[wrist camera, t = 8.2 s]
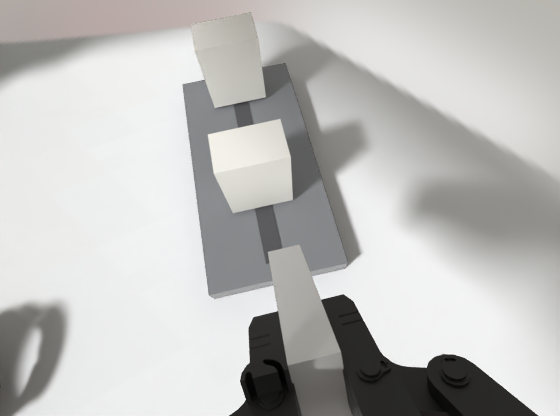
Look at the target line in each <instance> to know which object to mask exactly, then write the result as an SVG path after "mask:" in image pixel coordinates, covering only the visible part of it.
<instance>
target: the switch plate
mask: <svg viewBox="0 0 560 416" xmlns="http://www.w3.org/2000/svg"><path fill="white" fill-rule="evenodd" d="M262 71H263V79H264V86H265V93H266V97H265V98H260V99H255V100H251V101H246V102H241V103H237V104H232V105H227V106H222V107H218V108H215V107H214V104H213V101H212V99H211V96H210V93H209V90H208V87H207V84H206V82H205V80H202V81H197V82H192V83H187V84H183V92H184V100H185V108H186V116H187V124H188V132H189V140H190V148H191V156H192V164H193V172H194V180H195V188H196V196H197V204H198V212H199V220H200V228H201V236H202V244H203V252H204V260H205V268H206V276H207V284H208V292H209V296H211V297H212V298H214V299H216V298H220V297H225V296H229V295H233V294H238V293H242V292H246V291H250V290H255V289H259V288H263V287H268V286H272V285H273V279H272V273H271V268H270V262H269V256H268V252H270V251H274V250H278V249H282V248H287V247H291V246H295V245H300V247H301V250H302V253H303V255H304V258H305V260H306V263H307V265H308V268H309V271H310V273H311V276H315V275H319V274H323V273H328V272H332V271H336V270H341V269H345V268H346V266H347V264H348V262H347V258H346V255H345V252H344V249H343V246H342V242H341V239H340V236H339V233H338V230H337V226H336V223H335V220H334V217H333V214H332V210H331V207H330V204H329V201H328V198H327V194H326V191H325V188H324V185H323V182H322V178H321V175H320V172H319V169H318V166H317V162H316V159H315V156H314V153H313V150H312V146H311V143H310V140H309V137H308V134H307V130H306V127H305V124H304V121H303V118H302V114H301V111H300V108H299V105H298V102H297V98H296V95H295V92H294V89H293V86H292V82H291V79H290V76H289V73H288V70H287V66H286V63H283V64H278V65H274V66H269V67H264V68H262ZM277 119H280V120H281V123H282V127H283V131H284V134H285V138H286V141H287V145H288V149H289V152H290V156H291V171H292V191H293V200H290V201H286V202H281V203H277V204H272V205H268V206H263V207H259V208H254V209H250V210H245V211H241V212H237V213H233V212H232V210H231V208H230V206H229V204H228V202H227V200H226V198H225V196H224V194H223V192H222V190H221V188H220V185H219V183H218V181H217V179H216V177H215V175H214V172H213V166H212V159H211V153H210V146H209V140H208V134H212V133H217V132H221V131H226V130H231V129H235V128H240V127H245V126H249V125H254V124H258V123H263V122H268V121H272V120H277Z"/></svg>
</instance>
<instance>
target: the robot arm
mask: <svg viewBox="0 0 560 416" xmlns="http://www.w3.org/2000/svg"><path fill="white" fill-rule="evenodd" d="M268 256H269V262H270V268H271V273H272V279H273V285H274V291H275V296H276V302H277V308H278V311H277V312H273V313H269V314H265V315H261V316H257V317H254V318H253V320H252V322H251V324H250V326H249V349H250V350H249V352H250V363H249V364H248V365H247V366H246V368H245V369H244V371H243V372H242V375H241V379H240V383H241V386H242V389H243V392H244V395H245V398H246V401H245V402H244V404H243V405H242V406H241V407H240V408H239V409H238V410H237V411H235V412H234V413H233V414H231V415H229V416H538V415H537V414H535V413H534V412H533V411H532V410H530V409H529V408H528V407H527V406H525V405H524V404H523V403H522V402H520V401H519V400H518V399H517V398H515V397H514V396H513V395H512V394H511V393H509V392H508V391H507V390H506V389H504V388H503V387H502V386H501V385H499V384H498V383H497V382H496V381H494V380H493V379H492V378H491V377H489V376H488V375H487V374H486V373H485V372H483V371H482V370H481V369H480V368H478V367H477V366H476V365H475V364H473V363H472V362H470V361H468V360H467V359H465V358H463V357H459V356H456V355H447V354H443V355H440V356H436V357H434V358H433V359H432V360H431V361H429V363H428V366H427V368H418V367H405V366H400V365H397V364H395V363H393V362H391V361H389V359H387V358H386V357H384V356H383V355H382V353H381V352H380V350H379V349H378V347H377V345H376V343H375V341H374V339H373V337H372V335H371V334H370V332H369V330H368V328H367V326H366V324H365V322H364V321H363V319H362V317H361V315H360V313H359V312H358V309H357V308H356V306H355V304H354V302H353V301H352V300H351V299H349V298H348V297H346V296H345V295H344V294H343V295H339V296H335V297H331V298H327V299H323V300H321V299H320V296H319V294H318V291H317V289H316V286H315V284H314V281H313V278H312V276H311V273H310V271H309V268H308V265H307V263H306V260H305V258H304V255H303V253H302V250H301V247H300V245H295V246H291V247H287V248H282V249H278V250H274V251H270V252H268Z"/></svg>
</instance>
